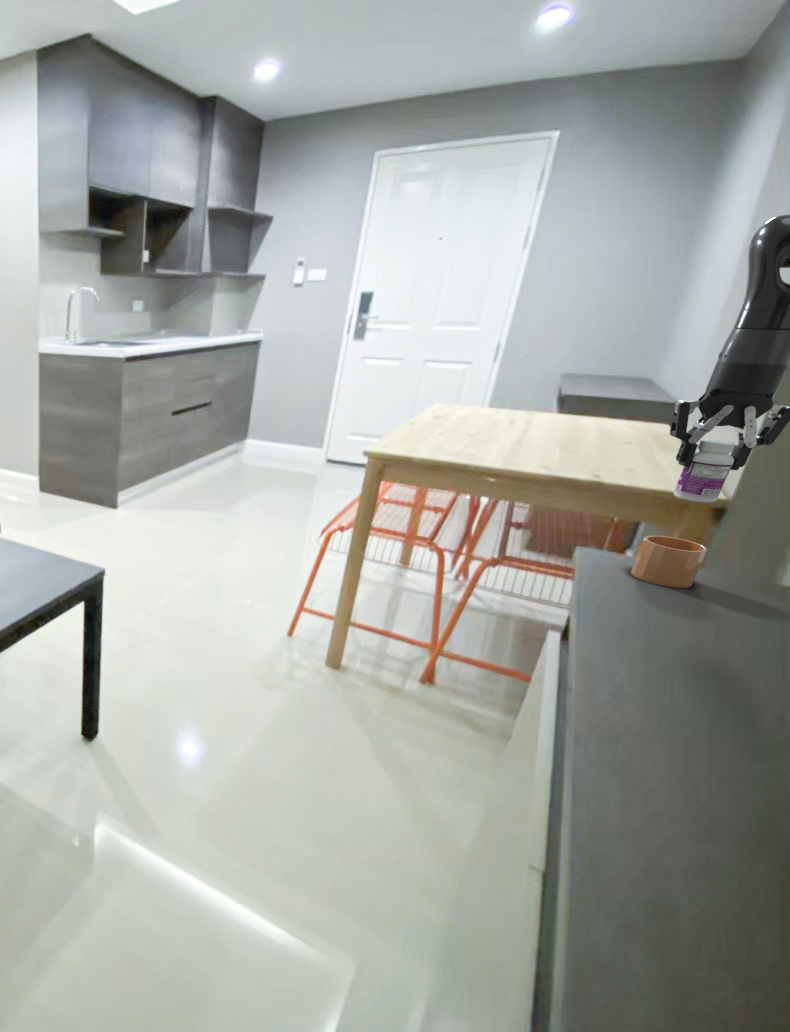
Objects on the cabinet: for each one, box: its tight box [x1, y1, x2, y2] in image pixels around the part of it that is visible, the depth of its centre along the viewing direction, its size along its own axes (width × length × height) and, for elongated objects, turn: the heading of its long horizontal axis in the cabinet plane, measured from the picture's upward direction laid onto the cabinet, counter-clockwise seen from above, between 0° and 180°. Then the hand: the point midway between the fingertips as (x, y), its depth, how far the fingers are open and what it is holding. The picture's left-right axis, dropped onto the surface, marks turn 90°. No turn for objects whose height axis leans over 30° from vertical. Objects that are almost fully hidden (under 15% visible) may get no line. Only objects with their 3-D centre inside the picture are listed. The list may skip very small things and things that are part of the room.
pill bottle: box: [673, 438, 736, 503], centre depth 100 cm, size 5×5×10 cm
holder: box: [630, 535, 708, 589], centre depth 108 cm, size 8×8×7 cm
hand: (707, 466), depth 100 cm, fingers closed on pill bottle, 5 cm apart
